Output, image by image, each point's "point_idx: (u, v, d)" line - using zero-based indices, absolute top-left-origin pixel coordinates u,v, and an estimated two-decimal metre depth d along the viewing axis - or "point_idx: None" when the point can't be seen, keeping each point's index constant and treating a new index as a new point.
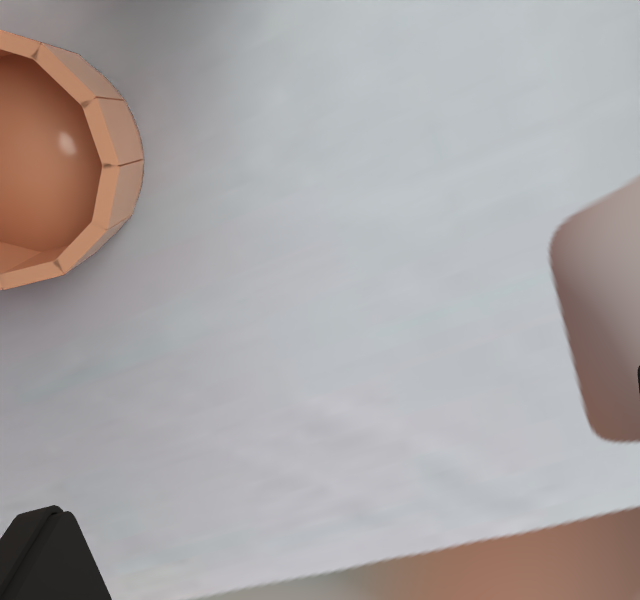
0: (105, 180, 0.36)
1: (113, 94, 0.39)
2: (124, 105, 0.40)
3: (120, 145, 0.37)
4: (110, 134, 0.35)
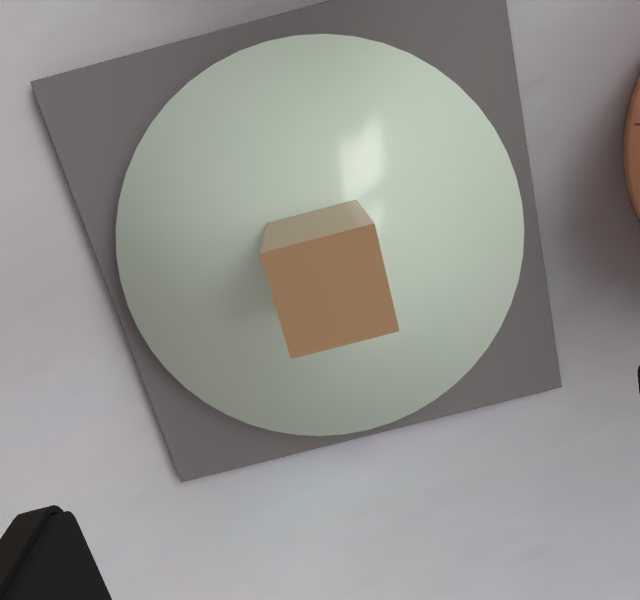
0: None
1: None
2: None
3: None
4: None
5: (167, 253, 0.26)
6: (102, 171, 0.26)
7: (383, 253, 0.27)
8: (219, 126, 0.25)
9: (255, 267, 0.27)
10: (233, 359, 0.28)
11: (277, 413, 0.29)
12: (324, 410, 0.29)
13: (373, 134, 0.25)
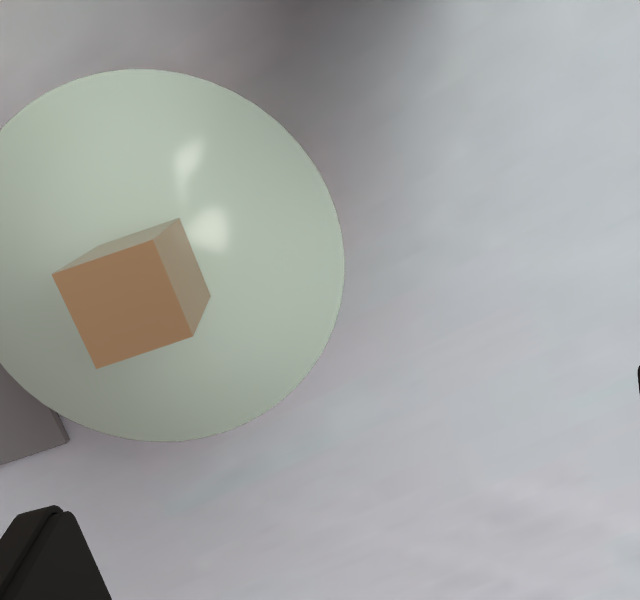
0: None
1: None
2: None
3: None
4: None
5: (9, 279, 0.28)
6: None
7: (212, 265, 0.29)
8: (42, 160, 0.27)
9: None
10: (85, 374, 0.30)
11: (134, 423, 0.31)
12: (179, 416, 0.31)
13: (186, 157, 0.27)
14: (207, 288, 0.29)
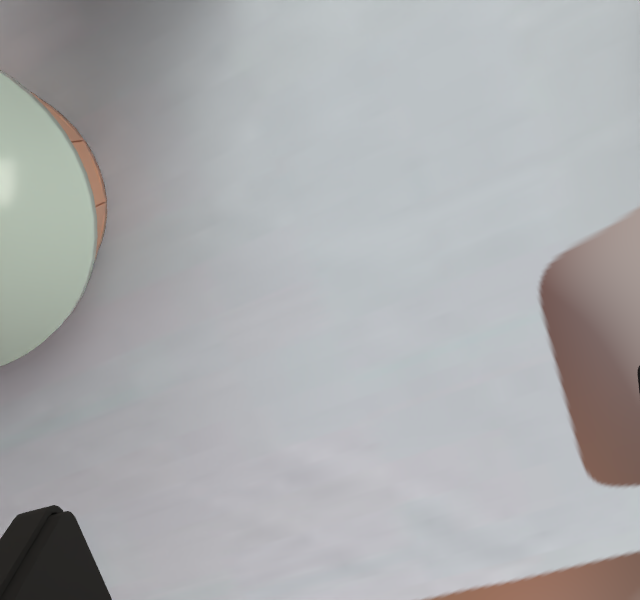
0: None
1: (69, 136, 0.37)
2: (82, 146, 0.38)
3: None
4: None
5: None
6: None
7: None
8: None
9: None
10: None
11: None
12: None
13: None
14: None
